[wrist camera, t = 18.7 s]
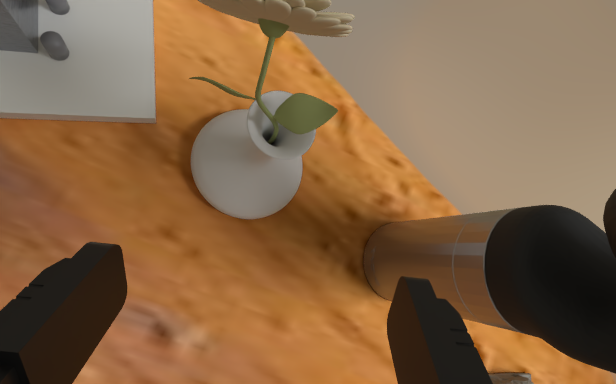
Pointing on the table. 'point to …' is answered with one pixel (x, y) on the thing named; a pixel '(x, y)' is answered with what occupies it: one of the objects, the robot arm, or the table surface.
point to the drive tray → (84, 64)
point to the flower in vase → (263, 119)
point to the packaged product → (511, 378)
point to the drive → (19, 25)
